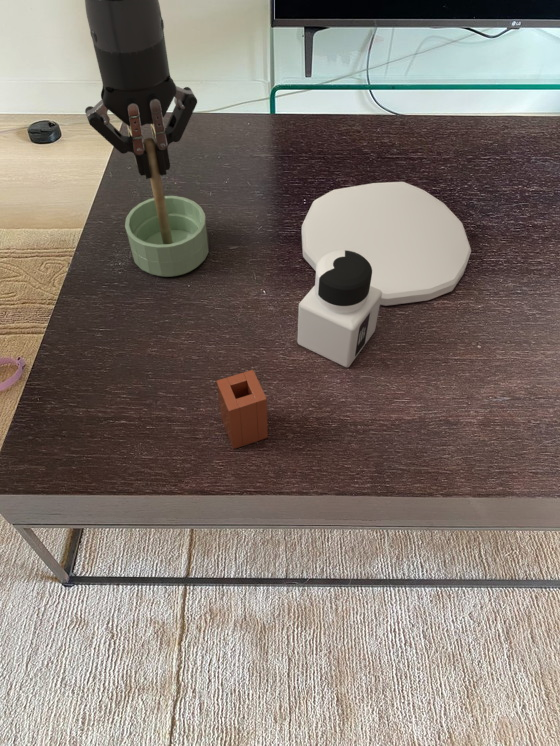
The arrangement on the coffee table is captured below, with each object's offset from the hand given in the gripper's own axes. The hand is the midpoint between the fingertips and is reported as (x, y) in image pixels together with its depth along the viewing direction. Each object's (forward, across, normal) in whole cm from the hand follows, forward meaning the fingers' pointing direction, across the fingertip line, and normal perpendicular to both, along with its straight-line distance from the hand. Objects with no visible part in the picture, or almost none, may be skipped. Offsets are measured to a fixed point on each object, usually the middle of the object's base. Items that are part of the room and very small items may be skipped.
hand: (154, 173), depth 79 cm
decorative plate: (+15, -30, +8) cm, 35 cm away
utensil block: (+15, 0, +32) cm, 35 cm away
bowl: (+15, 0, -2) cm, 15 cm away
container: (+15, -16, +22) cm, 32 cm away
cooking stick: (+12, 0, 0) cm, 12 cm away
